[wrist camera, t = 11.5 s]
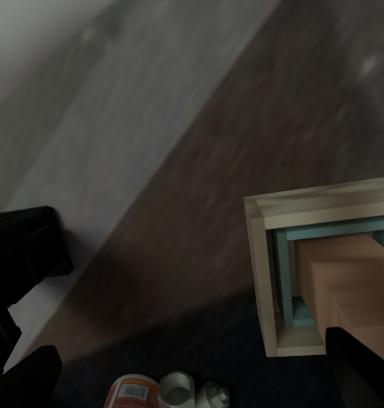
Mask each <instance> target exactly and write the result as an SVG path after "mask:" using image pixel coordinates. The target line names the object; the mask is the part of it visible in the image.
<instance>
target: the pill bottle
mask: <svg viewBox="0 0 384 408" xmlns="http://www.w3.org/2000/svg"><path fill="white" fill-rule="evenodd" d="M159 385H160V384H159V383H158V382H157V381H156V380H154V379H152V378H150V377H148V376H146V375H142V374H127V375H124V376H122V377H120V378H119V379H117V380H116V381H115V382H114V384H113V385H112V387H111V389H110V392H109V394H108V397H107V399H106V402H105V405H104V407H103V408H159V404H158V392H159Z"/></svg>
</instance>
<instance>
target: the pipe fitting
mask: <svg viewBox="0 0 384 408" xmlns="http://www.w3.org/2000/svg"><path fill="white" fill-rule="evenodd" d="M158 404H159V408H230V405H229V391H228V389H227V388H226V387H223V386H222V385H217V384H216V383H215V382H213V381H208V382H207V383H205V384H204V385H203V386H202V387H201V388H199V389H198V390H197V391H196V392H195V382H194V378H193V377H192V376H190V375H189V374H187V373H185V372H183V371H173V372H171V373H169V374H167V375H166V376H164V377H163V378H162V379H161V380H160V385H159V392H158Z"/></svg>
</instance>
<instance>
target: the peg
mask: <svg viewBox="0 0 384 408" xmlns="http://www.w3.org/2000/svg"><path fill="white" fill-rule="evenodd" d="M294 251H295V265H296V279H297V286H298V288H299V291H300V293H301V295H302V297H303V299H304V301H305V303H306V305H307V308H308V310H309V312H310V314H311V316H312V318H313V320H314V322H315V325H316V327H317V329H318V331H319V333H320V335H321V337H322V339H323V342H324V344H325V330H326V328H327V327H336V326H339V327H342V328H343V329H344V330H346V331H347V332H348V333H350V334H351V335H352V336H354V337H355V338H356V339H358V340H359V341H360V342H362V343H363V344H364V345H365V346H367V347H368V348H369V349H371V350H372V351H373V352H375V353H376V354H377V355H379V356H380V357H381V358H383V359H384V247H383V246H381V245H380V244H379V243H378V242H376V241H375V240H374V239H372V238H371V237H370V236H369V235H367V234H366V233H365V232H358V233H349V234H340V235H331V236H323V237H314V238H305V239H296V240H294Z"/></svg>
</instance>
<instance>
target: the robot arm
mask: <svg viewBox="0 0 384 408" xmlns="http://www.w3.org/2000/svg"><path fill="white" fill-rule="evenodd" d="M44 210H45V211H46V212H47V214H46V213H45V212H44ZM66 268H67V269H68V270H67V269H66ZM72 271H73V265H72V262H71V260H70V257H69V254H68V251H67V249H66V246H65V243H64V240H63V238H62V235H61V232H60V230H59V227H58V224H57V222H56V219H55V216H54V213H53V211H52V209H51V208H50V207H48V206H41V207H35V208H29V209H22V210H16V211H9V212H3V213H0V408H47V407H48V405H49V402H50V399H51V397H52V394H53V391H54V389H55V386H56V383H57V381H58V378H59V375H60V373H61V369H62V361H61V359H60V356H59V354H58V351H57V349H56V347H55V346H54V345H44V346H41V347H39V348H38V349H37V350H35V351H34V352H33V353H31V354H30V355H29V356H27V357H26V358H24V359H23V360H22V361H20V362H19V363H18V364H16V365H15V366H14V367H12V368H11V369H10V370H8V371H7V372H6V373H4V374H3V372H4V369H3V368H4V366H5V364H6V362H7V360H8V358H9V357H10V355H11V353H12V351H13V349H14V347H15V345H16V343H17V342H18V340H19V338H20V336H21V334H22V332H21V330H20V328H19V326H16V324H15V322H14V320H13V318H12V317H11V315H10V313H9V311H8V308H9V307H10V306H11V305H12V304H16V303H17V302H18V301H19V300H20V299H22V298H23V297H24V296H25V295H26V294H27V293H28V292H29V291H30V290H31V289H32V288H34V287H35V286H36V285H37V284H39V283H40V282H41V281H43V280H44V279H45V278H46V277H55V276H64V275H69V274H71V272H72ZM325 349H326V354H327V357H328V360H329V363H330V365H331V368H332V371H333V374H334V376H335V379H336V382H337V384H338V387H339V390H340V393H341V395H342V398H343V401H344V403H345V406H346V408H384V359H383V358H381V357H380V356H379V355H377V354H376V353H375V352H373V351H372V350H371V349H369V348H368V347H367V346H365V345H364V344H363V343H362V342H360V341H359V340H358V339H356V338H355V337H354V336H352V335H351V334H350V333H348V332H347V331H346V330H344V329H343V328H342V327H339V326H336V327H327V328H326V330H325ZM2 374H3V375H2Z"/></svg>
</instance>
